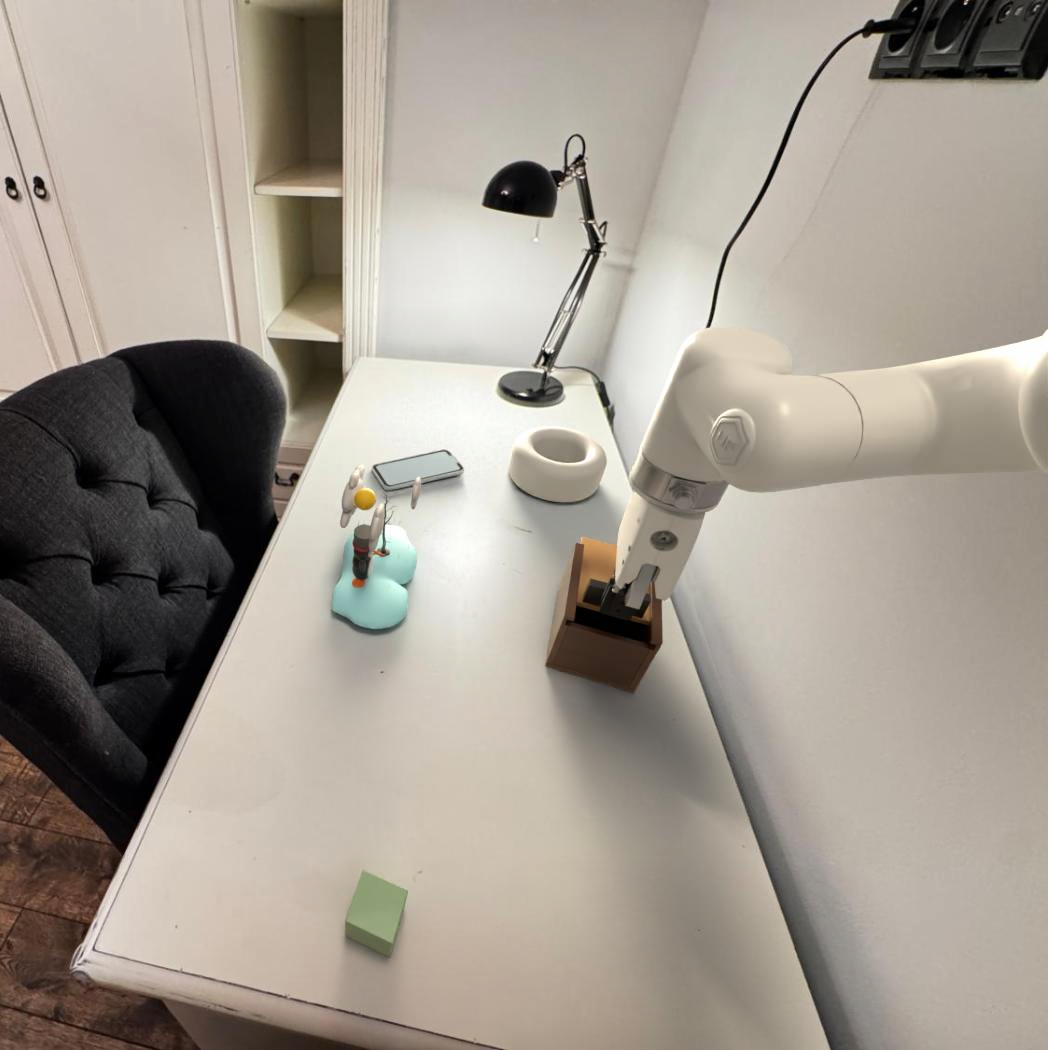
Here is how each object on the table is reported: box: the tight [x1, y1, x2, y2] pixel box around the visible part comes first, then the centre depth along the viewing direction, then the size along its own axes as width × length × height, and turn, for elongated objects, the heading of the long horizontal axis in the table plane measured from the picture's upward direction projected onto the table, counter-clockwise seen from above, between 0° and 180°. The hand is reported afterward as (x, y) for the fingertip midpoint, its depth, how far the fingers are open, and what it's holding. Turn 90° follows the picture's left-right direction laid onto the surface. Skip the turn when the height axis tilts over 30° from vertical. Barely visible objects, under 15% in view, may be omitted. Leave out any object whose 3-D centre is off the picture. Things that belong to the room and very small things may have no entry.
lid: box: [576, 536, 651, 626], centre depth 67 cm, size 12×8×3 cm
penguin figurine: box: [330, 463, 422, 630], centre depth 75 cm, size 20×11×15 cm, turn 167°
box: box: [544, 541, 664, 694], centre depth 69 cm, size 13×10×9 cm
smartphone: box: [371, 448, 465, 491], centre depth 99 cm, size 7×1×15 cm
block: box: [344, 869, 409, 958], centre depth 47 cm, size 4×4×4 cm
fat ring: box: [508, 425, 608, 503], centre depth 96 cm, size 15×15×7 cm
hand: (614, 611), depth 62 cm, fingers closed
